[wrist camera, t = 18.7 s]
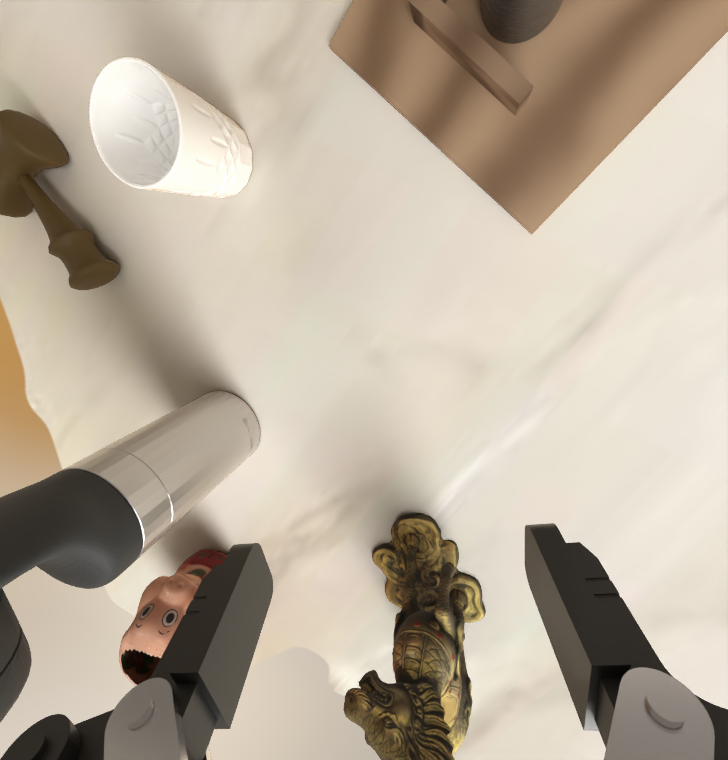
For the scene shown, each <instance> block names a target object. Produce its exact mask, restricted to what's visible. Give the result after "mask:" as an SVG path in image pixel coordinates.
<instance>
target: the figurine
mask: <svg viewBox="0 0 728 760" xmlns="http://www.w3.org/2000/svg"><path fill="white" fill-rule="evenodd" d="M391 535H392V540H391V542H390V543H387V544H383V545H381V546H379V547H378V548H376V549H375V550H374V551H373V553H372V558H373V561H374V563H375V564H376V565H377V566H378V567H379V568H381V570H382V571H383V573H384V574H385V575H386V576H387V582H386V586H385V593H386V596H387V598H388V599H389V600H390V601H391V602H392V603H393V604H395V605H397V606H399V607H401V608H402V610H401V612H400V613H398V614H397V615H396V620H395V622H396V623H395V629H394V648H393V670H394V672H395V679H396V683H394V684H387V683H384V682H382V681H381V680H380V679H379V677H378V674H377V672H376V671H375V670H372V671H369V672H368V673H366V674H365V675H364V676H363V677H362V679H361V680H360V681H359V686H360V687H361V688H352V689H350V690H348V691H347V693H346V696H345V703H344V712H345V715H346V717H347V718H348V719H349V720H351V721H352V722H354V723H356V724H357V725H359V726H360V727H361V728H363V729H364V731H365V740H366V742H367V744H368V745H370V746H371V747H372V748H373V749H374V750H375V751H376V753H377V754H378V756H379V757H380V759H381V760H454V758H453V756H452V754H453V753H454V752H456V751H457V749H458V748H459V747H460V745H461V744H462V742H463V740H464V738H465V736H466V732H467V729H468V726H469V717H470V715H471V707H472V697H471V680H470V678H469V677H468V674H467V670H466V664H465V657H464V650H463V641H464V639H465V635H464V623H465V622H469V623H470V622H475V621H478V620H480V619H482V618H483V617H484V615H485V607H484V605H483V602H482V590H481V586H480V583H479V582H478V581H477V580H476V579H475V578H473V577H471V576H469V575H467V574H464V573H462V572H460V571H458V569H457V568H456V566H457V564H458V559H459V552H458V547H457V545H456V544H455V543H454V542H452V541H449V540H443V539H442V538H441V530H440V528H439V526H438V524H437V523H436V522H435V520H433V519H432V518H431V517H429V516H427V515H424V514H421V513H419V514H410V515H405V516H402V517H400V518H399V519H397V521H396V522H395V523H394V525H393V527H392V529H391Z"/></svg>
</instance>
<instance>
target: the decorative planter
mask: <svg viewBox="0 0 728 760" xmlns="http://www.w3.org/2000/svg"><path fill="white" fill-rule="evenodd" d="M226 557H227V556H226V555H225V554H223V553H221V552H218V551H214V550H209V549H204V550H200V551H198V552H196V553H195V554H193V555H192V556H190V557H189V558H188V559H187V560H185V562H184V563H183V564H182V565H181V566H180V567H179V569H178V570H177V572H176V573H175V574H174V575H172V576H171V577H167V576H161V577H158V578H157V579H155V580H154V581H152V582H151V583H150V584H149V585H148V586H147V588H146V589H145V591H144V592H143V594H142V597H141V600H140V603H139V607H138V610H137V614H136V617H135V619H134V621H133V623H132V624H131V626H130V628H129V629H128V630H127V631H126V633H125V634H124V636H123V638H122V641H121V646H120V651H119V661H120V666H121V668H122V670H123V673H124V674H125V676H126V677H127V678H128V679H129V680H130V681H131V682H132V683H133V684H134V685H135V686H137V685H138V684H140V683H142V682H144V681H146V680H148V679H149V678H150V677H151V675H152V674H153V672H154V670H155V668H156V666H157V664H158V663H159V661H160V659H161V657H162V655H163V653H164V651H165V649H166V647H167V646H168V644H169V642H170V640H171V638H172V636H173V634H174V632H175V630H176V629H177V627H178V625H179V623H180V621H181V619H182V617H183V615H185V614H186V610H187V608H188V606H189V604H190V602H191V601H192V600H193V596H194V595H195V593H196V591H197V589H198V587H199V585H200V583H201V581H202V580H203V578H204V577H205V576H206V575H207V574H208V573H209V572H210V571H211V570H212V569H213V568H214V566H215V565H216V564H223V563H224V561H225V559H226Z"/></svg>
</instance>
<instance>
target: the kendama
mask: <svg viewBox="0 0 728 760" xmlns="http://www.w3.org/2000/svg"><path fill="white" fill-rule="evenodd" d="M68 162H69V157H68V153H67V151H66V149H65V147H64V146H63V144H62V143H61V141H60V140H59V139H58V138H57V137H56V135H55V134H54V133H53V132H52V131H50V130H49V129H48V128H47V127H46V126H45V125H43V124H42V123H40V122H39V121H37V120H35V119H34V118H32V117H30V116H28V115H25V114H23V113H20V112H18V111H13V110H4V111H1V112H0V214H1V215H5V216H11V217H25V216H27V215H28V214H30V213H31V212H32V211H33V207H32V205H33V206H34V208H35V210H36V212H37V214H38V215H39V217H40V219H41V221H42V223H43V225H44V227H45V229H46V231H47V234H48V236H49V239H50V244H49V247H48V248H49V253H50V254H52V255H54V256H56V257H58V258H60V259H61V261H62V262H63V263H64V265H65V266H66V268H67V270H68V272H69V275H70V276H69V285H70V287H71V288H74V289H77V290H89V289H94V288H97V287H100V286H103V285H105V284H107V283H108V282H110V281H111V280H113V279H114V278H115V277H116V276H117V275H118V274H119V271H120V266H119V265H118V264H117V263H115V262H114V261H111V260H107V259H106V258H105V257H104V256H103V255H102V254H101V253H100V252H99V250H98V249H97V247H96V246H95V243H94V235H93V234H92V233H91V232H89V231H87V230H82V229H80V228H79V227H78V226H76V225H75V224H74V223H73V222H72V221H71V220H70V219H69V218H68V217H67V216H66V215H65V214H64V213H63V212H62V211H61V210H60V208H59V207H58V206H57V205H56V204H55V203H54V202H53V201H52V200H51V199H50V198H49V196H48V195H47V194H46V193H45V192H44V191H43V190H42V188H41V187H40V186H39V185H38V184H37V183H36V181H35V180H34V179H33V178H34V177H35V176H36V175H37V173H38V172H40V171H41V170H43V169H49V168H57V167H61V166H63V165H65V164H67V163H68Z"/></svg>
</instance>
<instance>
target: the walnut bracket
mask: <svg viewBox="0 0 728 760" xmlns="http://www.w3.org/2000/svg"><path fill="white" fill-rule="evenodd" d="M727 31H728V0H563V1H562V4H561V6H560V8H559V11H558V12H557V14H556V16H555V17H554V19H553V20H552V21H551V23H550V24H549V25H548V26H547V27H546V28H545V29H544V30H543V31H542V32H541V33H539V34H538V35H537V36H535V37H533V38H532V39H530V40H527V41H525V42H521V43H516V44H509V43H504V42H501V41H499V40H497V39H495V38H494V37H493V36H492V35H491V34H490V33H489V32H488V30H487V28H486V27H485V24H484V22H483V18H482V13H481V0H354V1H353V2H352V4H351V6H350V8H349V10H348V12H347V13H346V15H345V17H344V19H343V21H342V22H341V24H340V26H339V28H338V30H337V32H336V33H335V35H334V37H333V39H332V41H331V43H330V44H329V47H330V49H331V50H332V51H333V52H334V53H335V54H337V55H338V56H339V57H340V58H341V59H342V60H343V61H344V62H345V63H346V64H347V65H348V66H350V67H351V68H352V69H353V70H354V71H355V72H356V73H357V74H358V75H359V76H360V77H361V78H363V79H364V80H365V81H366V82H367V83H368V84H369V85H370V86H371V87H372V88H373V89H375V90H376V91H377V92H378V93H379V94H380V95H381V96H382V97H383V98H384V99H385V100H386V101H388V102H389V103H390V104H391V105H392V106H393V107H394V108H395V109H396V110H397V111H398V112H400V113H401V114H402V115H403V116H404V117H405V118H406V119H407V120H408V121H409V122H410V123H411V124H413V125H414V126H415V127H416V128H417V129H418V130H419V131H420V132H421V133H422V134H423V135H424V136H426V137H427V138H428V139H429V140H430V141H431V142H432V143H433V144H434V145H435V146H436V147H438V148H439V149H440V150H441V151H442V152H443V153H444V154H445V155H446V156H447V157H448V158H449V159H451V160H452V161H453V162H454V163H455V164H456V165H457V166H458V167H459V168H460V169H461V170H463V171H464V172H465V173H466V174H467V175H468V176H469V177H470V178H471V179H472V180H473V181H474V182H476V183H477V184H478V185H479V186H480V187H481V188H482V189H483V190H484V191H485V192H486V193H487V194H489V195H490V196H491V197H492V198H493V199H494V200H495V201H496V202H497V203H498V204H499V205H501V206H502V207H503V208H504V209H505V210H506V211H507V212H508V213H509V214H510V215H511V216H512V217H514V218H515V219H516V220H517V221H518V222H519V223H520V224H521V225H522V226H523V227H524V228H525V229H527V230H528V231H529V232H530V233H531V234H533V233H534V232H535V231H536V230H537V229H538V228H539V226H540V225H541V224H542V223H543V222H544V221H545V220H546V219H547V218H548V217H549V216H550V215H551V214H552V213H553V212H554V211H555V210H556V209H557V208H558V207H559V206H560V205H561V204H562V203H563V202H564V201H565V199H566V198H567V197H568V196H569V195H570V194H571V193H572V192H573V191H574V190H575V189H576V188H577V187H578V186H579V185H580V184H581V183H582V182H583V181H584V180H585V179H586V178H587V177H588V176H589V175H590V174H591V172H592V171H593V170H594V169H595V168H596V167H597V166H598V165H599V164H600V163H601V162H602V161H603V160H604V159H605V158H606V157H607V156H608V155H609V154H610V153H611V152H612V151H613V150H614V149H615V148H616V147H617V146H618V144H619V143H620V142H621V141H622V140H623V139H624V138H625V137H626V136H627V135H628V134H629V133H630V132H631V131H632V130H633V129H634V128H635V127H636V126H637V125H638V124H639V123H640V122H641V121H642V120H643V119H644V117H645V116H646V115H647V114H648V113H649V112H650V111H651V110H652V109H653V108H654V107H655V106H656V105H657V104H658V103H659V102H660V101H661V100H662V99H663V98H664V97H665V96H666V95H667V94H668V93H669V92H670V90H671V89H672V88H673V87H674V86H675V85H676V84H677V83H678V82H679V81H680V80H681V79H682V78H683V77H684V76H685V75H686V74H687V73H688V72H689V71H690V70H691V69H692V68H693V67H694V66H695V65H696V63H697V62H698V61H699V60H700V59H701V58H702V57H703V56H704V55H705V54H706V53H707V52H708V51H709V50H710V49H711V48H712V47H713V46H714V45H715V44H716V43H717V42H718V41H719V40H720V39H721V38H722V37H723V35H724V34H725V33H726V32H727Z"/></svg>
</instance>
